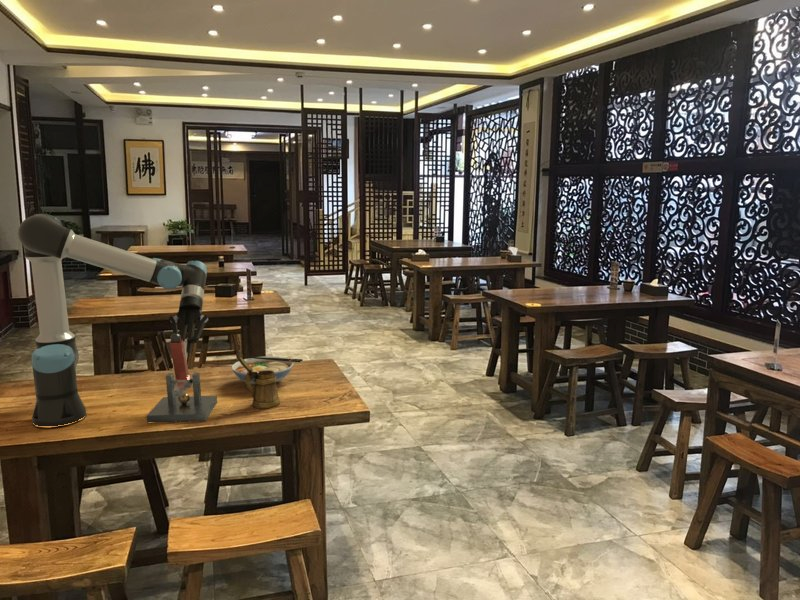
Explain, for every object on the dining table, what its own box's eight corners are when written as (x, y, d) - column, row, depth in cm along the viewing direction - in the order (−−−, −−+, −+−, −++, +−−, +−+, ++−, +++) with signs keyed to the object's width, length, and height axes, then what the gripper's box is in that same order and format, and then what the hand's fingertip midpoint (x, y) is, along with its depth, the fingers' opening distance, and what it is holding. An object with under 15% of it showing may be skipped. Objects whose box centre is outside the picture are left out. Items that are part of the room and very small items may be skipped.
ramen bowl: (217, 390, 224) (216, 368, 223) (250, 371, 246) (249, 352, 244) (279, 396, 217) (278, 374, 215) (307, 377, 238) (306, 356, 237)
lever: (169, 397, 197) (159, 345, 188) (175, 382, 204) (166, 331, 195) (188, 397, 197) (179, 344, 188) (194, 382, 205) (185, 331, 196)
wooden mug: (239, 402, 211) (236, 351, 208) (279, 398, 215) (276, 348, 211) (239, 411, 203) (236, 358, 200) (281, 407, 206) (278, 355, 203)
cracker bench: (147, 423, 193) (143, 385, 191) (163, 404, 210) (160, 369, 208) (205, 421, 195) (202, 383, 192) (217, 402, 211) (215, 367, 209)
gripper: (212, 306, 218) (205, 365, 205) (175, 307, 217) (165, 366, 204) (208, 294, 212) (200, 354, 199) (169, 295, 211) (159, 356, 198)
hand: (182, 360), depth 201 cm, fingers closed
